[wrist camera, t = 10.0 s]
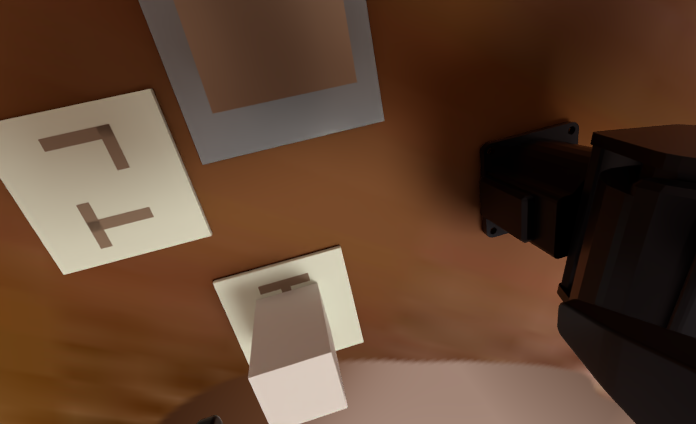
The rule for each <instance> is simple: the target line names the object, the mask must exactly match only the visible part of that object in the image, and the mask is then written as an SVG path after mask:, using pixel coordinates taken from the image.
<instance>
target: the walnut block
mask: <svg viewBox="0 0 696 424" xmlns="http://www.w3.org/2000/svg"><path fill="white" fill-rule="evenodd" d="M173 1H174V4H175V6H176V9H177V12H178V15H179V18H180V21H181V24H182V27H183V29H184V32H185V35H186V38H187V41H188V44H189V47H190V50H191V53H192V55H193V58H194V61H195V64H196V67H197V70H198V73H199V76H200V78H201V81H202V84H203V87H204V90H205V93H206V96H207V99H208V101H209V104H210V107H211V110H212V113H213V114H214V113H218V112H223V111H228V110H232V109H237V108H241V107H246V106H250V105H255V104H260V103H264V102H269V101H273V100H278V99H283V98H287V97H292V96H296V95H301V94H306V93H310V92H315V91H319V90H324V89H328V88H333V87H338V86H342V85H347V84H351V83H356V82H357V78H356V72H355V66H354V60H353V55H352V49H351V43H350V37H349V31H348V25H347V19H346V14H345V8H344V2H343V0H173Z"/></svg>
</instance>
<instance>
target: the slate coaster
mask: <svg viewBox="0 0 696 424" xmlns="http://www.w3.org/2000/svg"><path fill="white" fill-rule="evenodd" d="M138 1H139V3H140V6H141V8H142V11H143V14H144V16H145V19H146V21H147V24H148V26H149V29H150V31H151V34H152V37H153V39H154V42H155V44H156V47H157V49H158V52H159V55H160V57H161V60H162V62H163V65H164V67H165V70H166V72H167V75H168V78H169V80H170V83H171V85H172V88H173V90H174V93H175V95H176V98H177V101H178V103H179V106H180V108H181V111H182V113H183V116H184V118H185V121H186V124H187V126H188V129H189V131H190V134H191V136H192V139H193V141H194V144H195V147H196V149H197V152H198V154H199V157H200V159H201V162H202V165H204V164H208V163H212V162H216V161H220V160H224V159H229V158H233V157H237V156H241V155H245V154H249V153H253V152H257V151H262V150H266V149H270V148H274V147H278V146H282V145H286V144H291V143H295V142H299V141H303V140H307V139H311V138H315V137H320V136H324V135H328V134H332V133H336V132H340V131H344V130H349V129H353V128H357V127H361V126H365V125H369V124H373V123H378V122H382V121H384V115H383V108H382V102H381V95H380V89H379V82H378V76H377V69H376V63H375V56H374V50H373V43H372V37H371V30H370V24H369V17H368V11H367V4H366V0H343V2H344V8H345V14H346V19H347V25H348V31H349V37H350V43H351V49H352V55H353V60H354V66H355V72H356V78H357V82H356V83H351V84H347V85H342V86H338V87H333V88H328V89H324V90H319V91H315V92H310V93H306V94H301V95H296V96H292V97H287V98H283V99H278V100H273V101H269V102H264V103H260V104H255V105H250V106H246V107H241V108H237V109H232V110H228V111H223V112H218V113H214V114H213V113H212V110H211V107H210V104H209V101H208V99H207V96H206V93H205V90H204V87H203V84H202V81H201V78H200V76H199V73H198V70H197V67H196V64H195V61H194V58H193V55H192V53H191V50H190V47H189V44H188V41H187V38H186V35H185V32H184V29H183V27H182V24H181V21H180V18H179V15H178V12H177V9H176V6H175V4H174V1H173V0H138Z"/></svg>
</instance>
